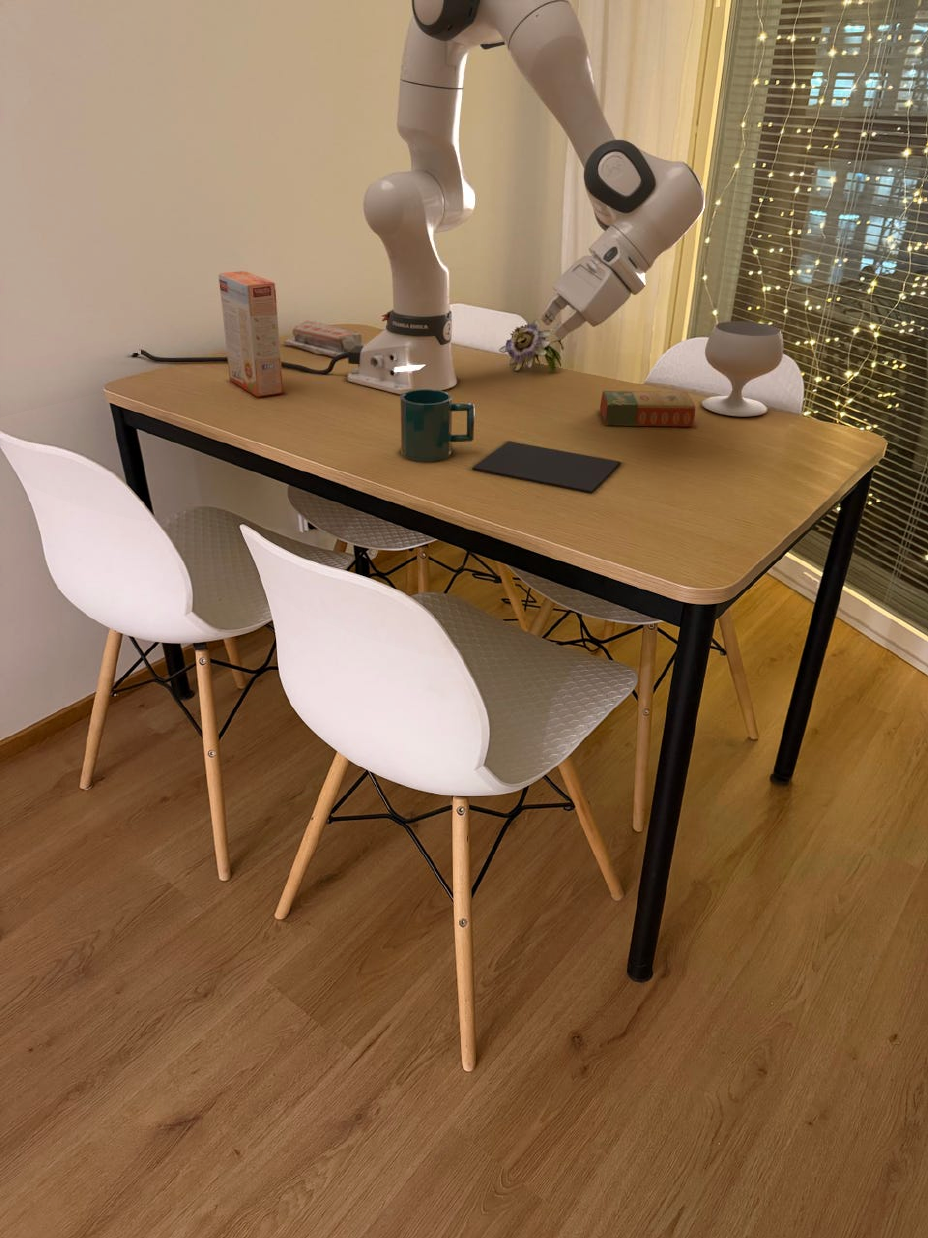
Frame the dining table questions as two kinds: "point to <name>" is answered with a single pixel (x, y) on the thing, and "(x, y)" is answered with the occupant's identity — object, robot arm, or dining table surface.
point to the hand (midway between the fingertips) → (549, 328)
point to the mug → (430, 424)
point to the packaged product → (324, 339)
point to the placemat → (548, 466)
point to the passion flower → (531, 347)
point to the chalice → (742, 362)
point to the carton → (647, 408)
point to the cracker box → (251, 332)
